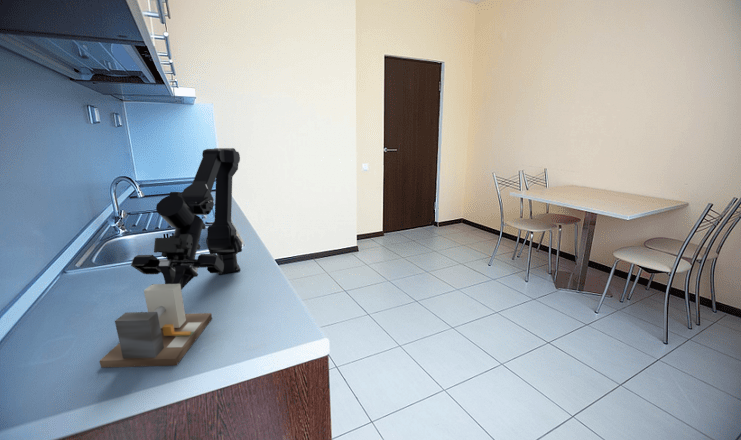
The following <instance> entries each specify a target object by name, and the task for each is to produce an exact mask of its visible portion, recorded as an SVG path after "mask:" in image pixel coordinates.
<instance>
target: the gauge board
mask: <svg viewBox="0 0 741 440" xmlns="http://www.w3.org/2000/svg"><path fill="white" fill-rule="evenodd" d="M185 316H186V321H185V322H184V323H183V324H182V326H181V327H180V328H174V332H183V331H191V334H190V335H177V336H164V334H163V328H160V324H159V318H158V313H157V312H148V311H141V312H140V311H138V312H137V311H135V312H133V311H132V312H130V311H129V312H128V311H127V312H124V313H123V314H122V315H120V316H118V318H116V319H115V320H114V324H115V327H116V334H117V338H118V342H119V343H118V344H116V345H115V346H114V347H113V348H112V349H111V350H110V351H109V352H108V353H106V354H105V355H104V356H103V357H102V358H100V360H99V365H100V368H102V369H103V368H131V367H132V368H134V367H135V368H136V367H165V366H166V367H168V366H178V364H179V363H180V361H181V360H182V359H183V358H184V356H185V355H186V354H187V353H188V351H189V349H191V347H192V346H193V345H194V343H195V342H196V341H197V340H198V339H199V337H200V335H201V334H202V333H203V332H204V330H205V329H206V327H207V326H208V325H209V324H210V322H211V321H212V320H213V316H212V312H209V313H208V312H205V313H201V312H200V313H185Z"/></svg>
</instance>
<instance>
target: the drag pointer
mask: <svg viewBox="0 0 741 440" xmlns="http://www.w3.org/2000/svg"><path fill="white" fill-rule="evenodd" d="M162 328H163V334H164V336H177V335H190V334H191V331H183V332H174V326H173V324H165V325H164V326H163V327H162Z"/></svg>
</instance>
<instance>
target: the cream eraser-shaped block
mask: <svg viewBox="0 0 741 440" xmlns="http://www.w3.org/2000/svg"><path fill="white" fill-rule="evenodd" d="M143 292H144V294H143V295H144V299H145V303H146V304H145V305H146V309H147V312H157V313H158V318H159V324H160V328H162V327H163V326H164V325H165V324H173V326H174V328H180V327H181V326H182V324H183V323H184V322H185V321H186V316H185V314H186V310H185V305H184V299H183V293H182V292H183V291H182V290H181V285H180V284H165V283H156V284H155V283H153V284H151V285H149V286H148V287H146V288H145V289H144V290H143Z"/></svg>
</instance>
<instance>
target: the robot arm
mask: <svg viewBox="0 0 741 440" xmlns="http://www.w3.org/2000/svg"><path fill="white" fill-rule="evenodd" d="M240 156H241V155H240V153H239V151H237V150H236V148H235V147H234V148H233V147H231V148H230V147H224V148H223V147H219V148H218V147H217V148H216V147H215V148H206V149H203V150H202V156H201V157H202V159H201V161H200V163H199V165H198V168H197V171H196V172H195V176H194V178H193V181H192V183H191V184H190V185H188V186H186V187H185V188H184V189H183V191H182V192H180V191H170V192H169V195H167V196H165V197H163V198H161V200H160V201H159V202H157V203H156V207H155V209H156V213H157V214H158V215H159V216H160V217H161V218H162V219H163V220H164V221H165V222H166V223H167V224H168V225H170V227H172V228H174V232H173V235H169V236H168V237H155V238H154V247H153V253H155V254H156V253H160V254H161V256H162V257H163V259H159V258H158V257H157V256H155V255H153V254H138V255H135V256H134V257H133V258H132V261H131V264H130V266H131V267H132V268H134V269H135V270H137V271H138V272H140V273H142V274H144V275H158V274H160V273H161V274H162V276H163V279H164V284H180V285H181V291H182V290H183V289H184V288H185V286H187V285H188V283H190V282H191V280H193V279H194V278H197V277H198V276H199V273H198V269H199V268H200V269H201V268H203V269H204V268H206V270H207V271H208V272H209V273H210V274H218V275H220V276H221V275H226V274H229V273H235V272H240V271H241V268H240V266H239V264H238V258H237V257H238V256H237V254H238V253H241V252H242V251H243V242H242V241H241V239H240V238H239V236H238V235H237V229H236V226H234V224H233V222H232V209H233V208H232V204H233V203H232V202H233V201H232V198H233V197H232V196H233V177H234V175H235V174H236V172H237V171H238V170H239V163H240V161H241V157H240ZM214 184H215V192H214V193H215V195H214V196H215V198H214V197H213V195H212V190H213V187H214ZM214 201H215V202H214ZM213 209H214V221H213V223H212V224H211V225H208V226H207V236H206V241H205V242H206V243H205V244H206V246H207V249H208V252H209V253H200V254H199V255H198V256H197V258H196V254H197V251H198V250H200V249H201V244H199V243H200V239H201V235H202V230H206V224H205V222H204V220H203V219H202V218H201V217H200V216H204V215H205V216H207V215H210V213H211V212H212V211H213ZM165 258H166V259H165Z"/></svg>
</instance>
